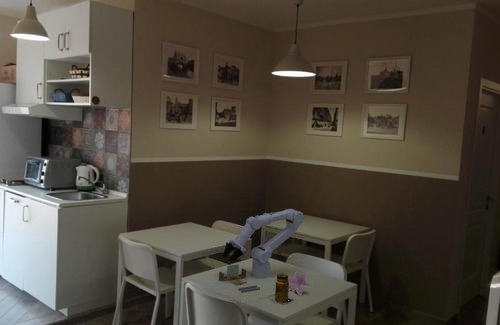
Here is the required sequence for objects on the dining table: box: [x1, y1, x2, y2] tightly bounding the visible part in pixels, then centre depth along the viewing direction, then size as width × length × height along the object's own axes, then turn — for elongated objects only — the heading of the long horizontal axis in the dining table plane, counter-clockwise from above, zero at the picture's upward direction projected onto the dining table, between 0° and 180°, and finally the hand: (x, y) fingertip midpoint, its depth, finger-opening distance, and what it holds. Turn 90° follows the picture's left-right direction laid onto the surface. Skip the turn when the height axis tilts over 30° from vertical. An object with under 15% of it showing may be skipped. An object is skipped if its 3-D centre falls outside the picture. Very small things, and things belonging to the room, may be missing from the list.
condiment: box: [271, 273, 295, 305], centre depth 210 cm, size 7×8×12 cm
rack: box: [218, 268, 247, 282], centre depth 229 cm, size 14×14×6 cm
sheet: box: [226, 263, 240, 278], centre depth 232 cm, size 6×1×8 cm, turn 120°
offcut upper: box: [231, 279, 248, 286], centre depth 226 cm, size 6×4×1 cm
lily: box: [288, 271, 311, 297], centre depth 222 cm, size 12×12×10 cm
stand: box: [238, 284, 261, 294], centre depth 217 cm, size 12×8×2 cm, turn 120°
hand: (227, 259), depth 229 cm, fingers open, 7 cm apart
